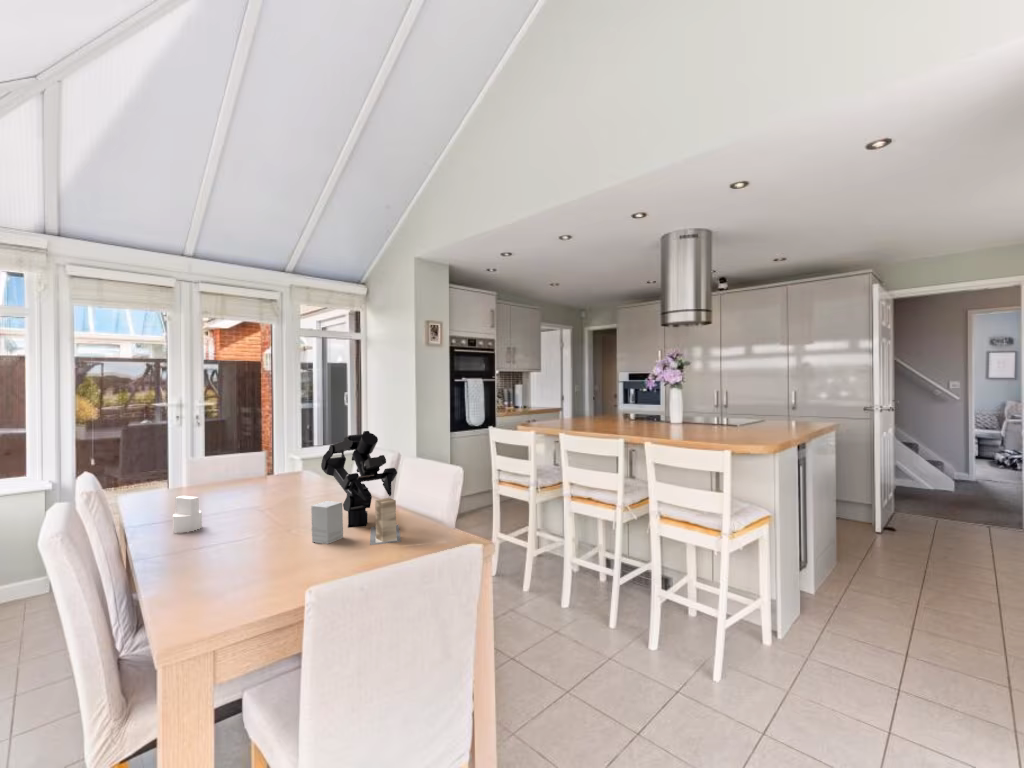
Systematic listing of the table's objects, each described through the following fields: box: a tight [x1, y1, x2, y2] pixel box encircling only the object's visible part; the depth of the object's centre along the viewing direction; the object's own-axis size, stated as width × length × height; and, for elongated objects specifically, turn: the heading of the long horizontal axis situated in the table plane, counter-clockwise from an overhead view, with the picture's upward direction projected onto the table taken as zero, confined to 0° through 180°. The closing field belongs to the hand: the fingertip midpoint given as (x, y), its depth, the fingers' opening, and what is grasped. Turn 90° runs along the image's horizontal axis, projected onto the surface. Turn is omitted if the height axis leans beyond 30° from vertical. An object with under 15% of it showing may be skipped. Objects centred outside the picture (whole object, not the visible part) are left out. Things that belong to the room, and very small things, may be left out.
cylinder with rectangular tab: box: [172, 495, 203, 533], centre depth 179 cm, size 9×9×12 cm
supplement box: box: [310, 500, 344, 545], centre depth 164 cm, size 7×7×13 cm
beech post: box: [374, 497, 397, 542], centre depth 163 cm, size 5×5×13 cm
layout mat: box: [369, 524, 402, 546], centre depth 168 cm, size 10×20×1 cm, turn 16°
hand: (378, 497), depth 167 cm, fingers open, 9 cm apart
